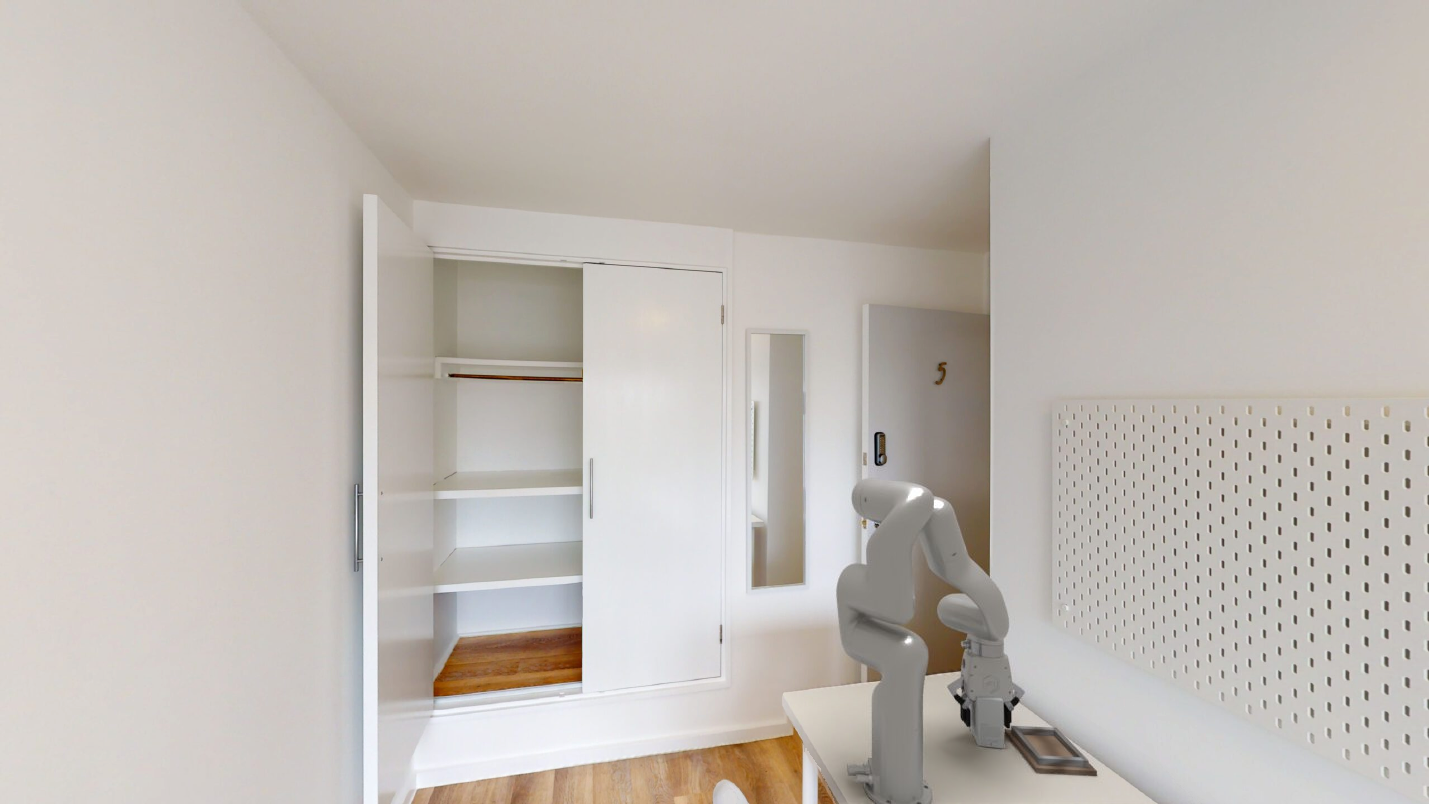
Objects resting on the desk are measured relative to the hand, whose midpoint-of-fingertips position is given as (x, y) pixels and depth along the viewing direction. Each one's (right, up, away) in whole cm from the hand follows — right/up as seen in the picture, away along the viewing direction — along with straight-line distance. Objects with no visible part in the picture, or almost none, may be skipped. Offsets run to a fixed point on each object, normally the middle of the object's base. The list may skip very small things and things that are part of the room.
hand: (985, 724), depth 125 cm
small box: (0, -3, 0) cm, 3 cm away
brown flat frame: (+11, -3, -6) cm, 12 cm away
